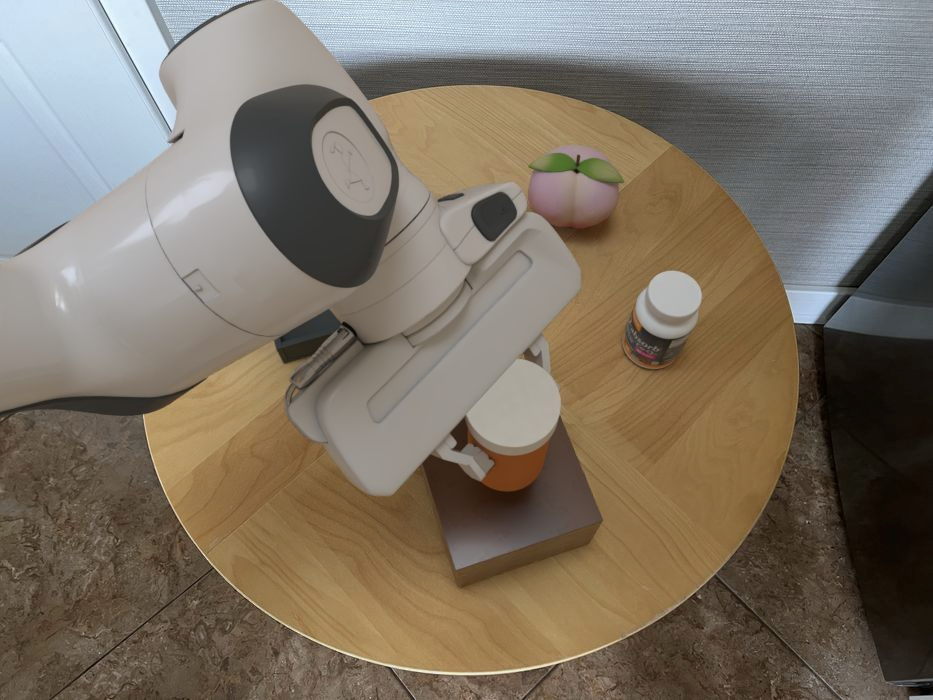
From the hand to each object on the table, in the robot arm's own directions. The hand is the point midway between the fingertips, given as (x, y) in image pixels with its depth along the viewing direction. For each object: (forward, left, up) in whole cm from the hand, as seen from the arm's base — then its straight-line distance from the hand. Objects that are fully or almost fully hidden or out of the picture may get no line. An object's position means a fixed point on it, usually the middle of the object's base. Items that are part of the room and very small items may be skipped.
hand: (517, 433), depth 50 cm
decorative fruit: (+17, +28, -19) cm, 37 cm away
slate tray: (-7, +28, -18) cm, 34 cm away
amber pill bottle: (0, 0, -5) cm, 5 cm away
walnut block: (0, +1, -18) cm, 18 cm away
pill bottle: (+19, +11, -19) cm, 28 cm away
